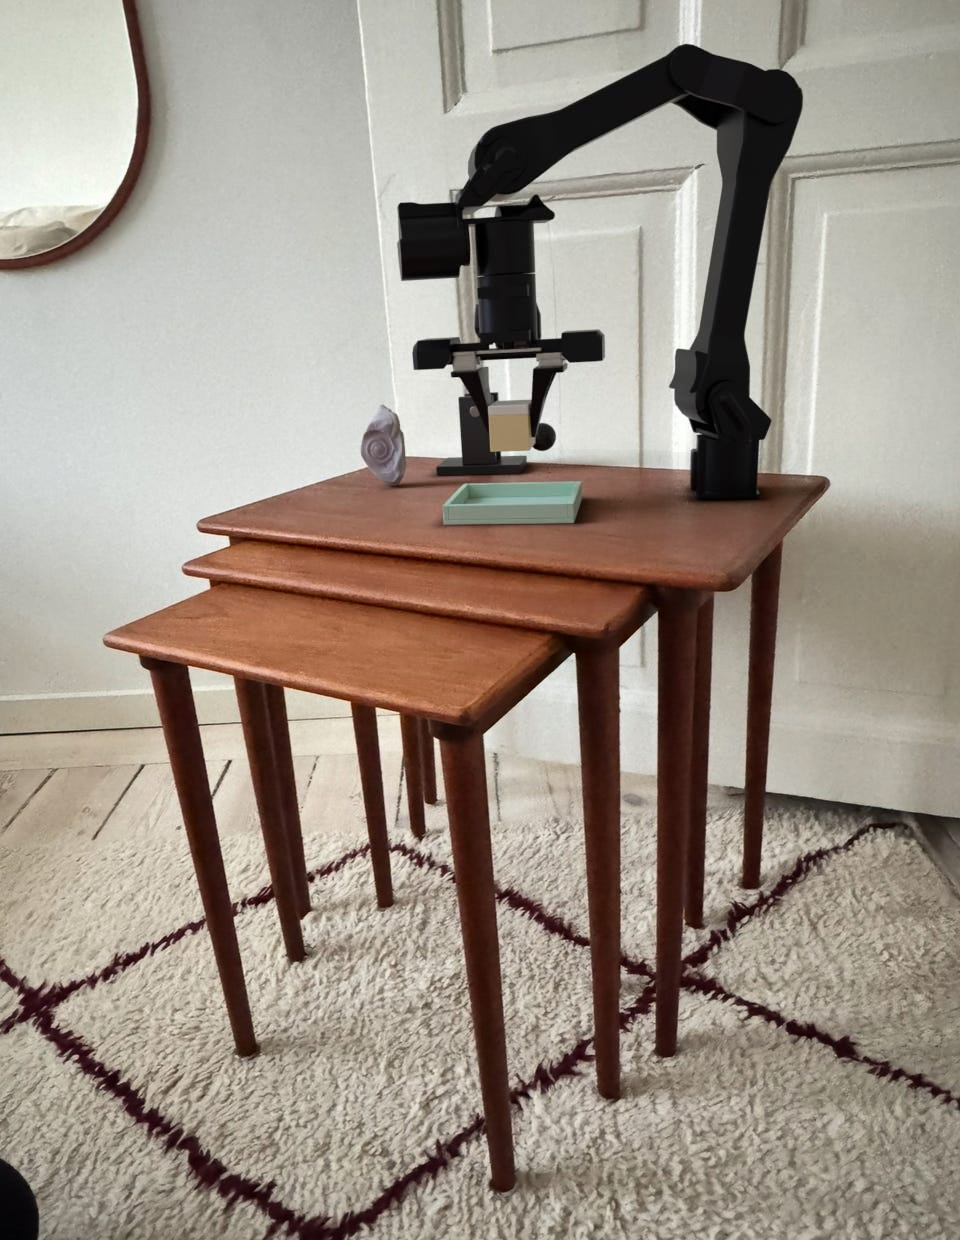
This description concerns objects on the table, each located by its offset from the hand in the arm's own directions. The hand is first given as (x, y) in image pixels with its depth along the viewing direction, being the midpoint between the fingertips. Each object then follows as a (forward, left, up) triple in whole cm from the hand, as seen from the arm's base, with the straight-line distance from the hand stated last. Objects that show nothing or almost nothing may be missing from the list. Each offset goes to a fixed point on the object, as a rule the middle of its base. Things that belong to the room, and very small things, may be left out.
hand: (513, 437), depth 92 cm
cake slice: (0, 0, -1) cm, 1 cm away
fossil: (+18, -15, -8) cm, 25 cm away
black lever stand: (+8, -25, -8) cm, 27 cm away
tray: (0, 0, -8) cm, 8 cm away
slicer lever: (+5, -25, -3) cm, 26 cm away
